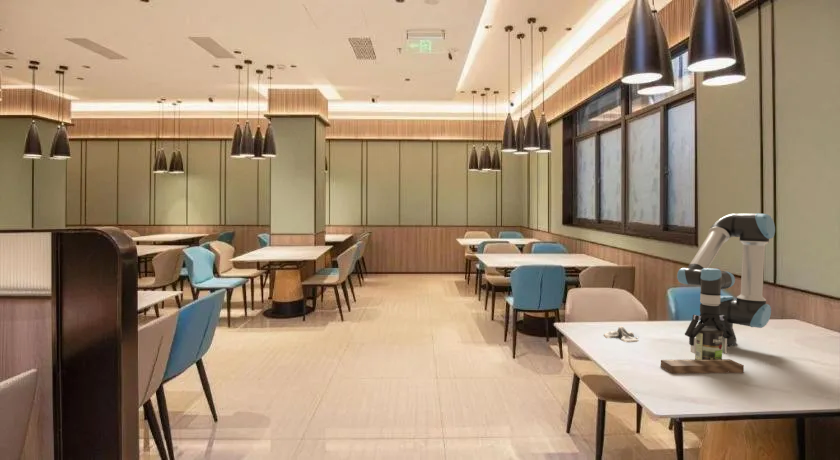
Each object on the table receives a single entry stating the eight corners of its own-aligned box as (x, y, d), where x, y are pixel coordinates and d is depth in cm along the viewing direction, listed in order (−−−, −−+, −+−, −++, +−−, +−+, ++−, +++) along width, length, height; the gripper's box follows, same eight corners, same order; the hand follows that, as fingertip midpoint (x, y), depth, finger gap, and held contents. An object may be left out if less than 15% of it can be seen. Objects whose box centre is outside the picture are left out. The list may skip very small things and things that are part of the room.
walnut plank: (729, 366, 203) (729, 359, 203) (743, 372, 195) (743, 365, 195) (660, 366, 201) (660, 359, 201) (671, 373, 193) (671, 365, 193)
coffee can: (727, 363, 207) (728, 330, 206) (712, 366, 202) (713, 333, 202) (703, 356, 216) (704, 325, 215) (689, 360, 211) (690, 328, 211)
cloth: (636, 345, 237) (636, 333, 236) (598, 338, 248) (598, 326, 248) (647, 336, 254) (648, 325, 254) (611, 330, 265) (612, 319, 265)
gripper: (731, 302, 213) (730, 350, 213) (677, 302, 211) (675, 350, 212) (744, 305, 205) (742, 355, 206) (687, 305, 204) (685, 355, 204)
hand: (708, 352), depth 209 cm, fingers open, 13 cm apart
